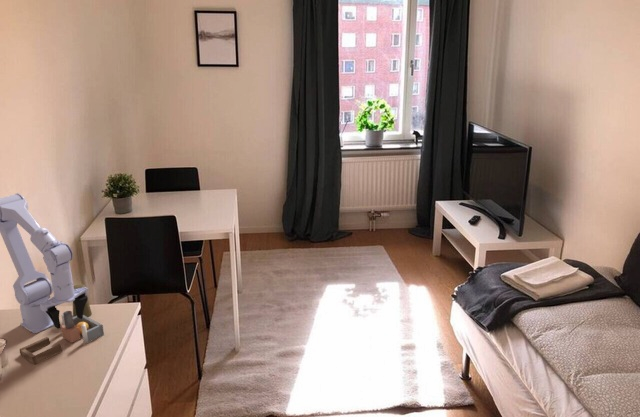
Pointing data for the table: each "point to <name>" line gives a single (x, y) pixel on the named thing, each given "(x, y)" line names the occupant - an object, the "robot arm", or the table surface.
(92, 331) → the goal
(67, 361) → the table surface
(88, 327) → the ball
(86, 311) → the olive green tapered cylinder
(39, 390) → the table surface
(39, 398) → the table surface
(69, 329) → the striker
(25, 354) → the rail frame
